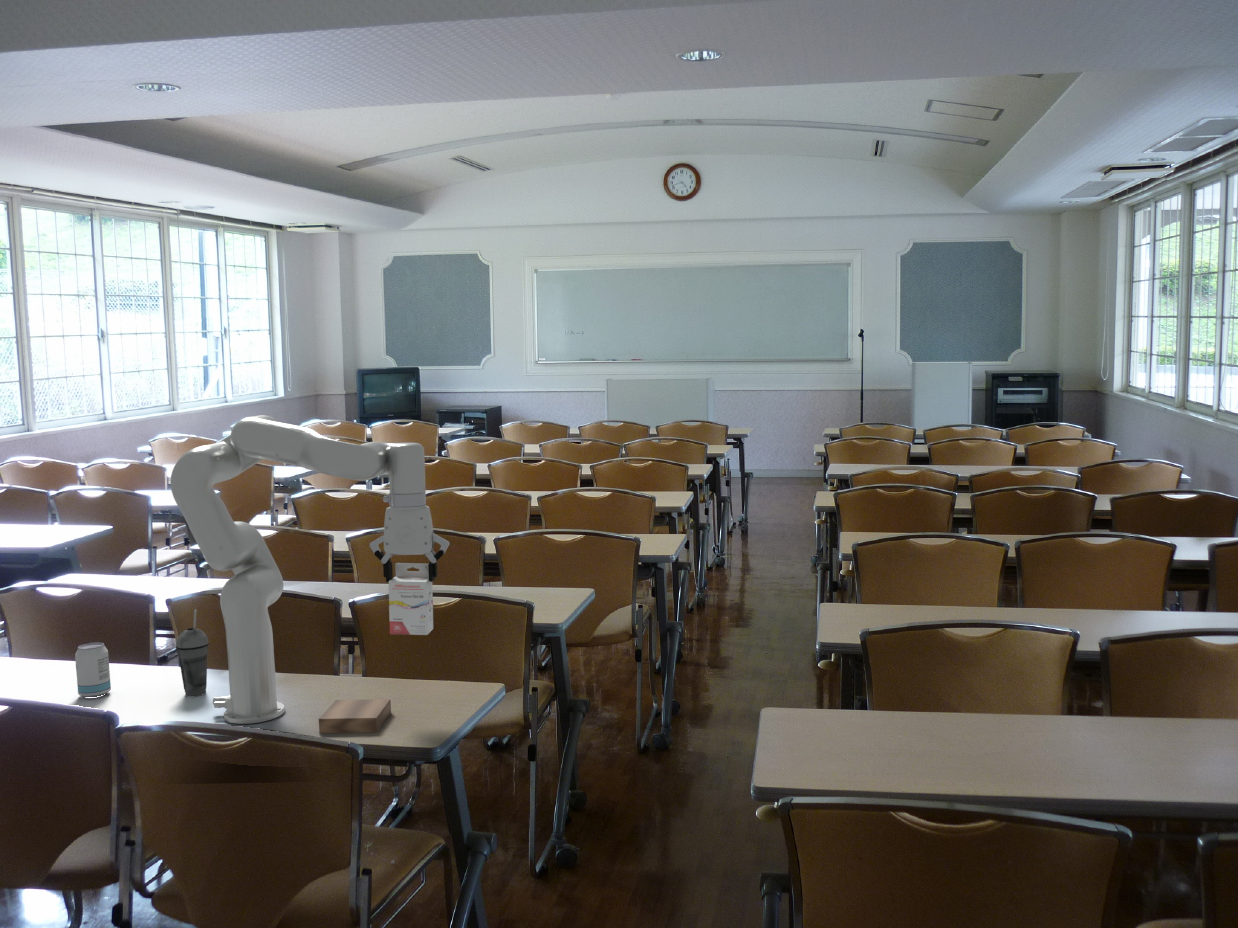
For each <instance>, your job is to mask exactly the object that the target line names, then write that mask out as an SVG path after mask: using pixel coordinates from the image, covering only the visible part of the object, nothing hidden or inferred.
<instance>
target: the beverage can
mask: <svg viewBox="0 0 1238 928" xmlns="http://www.w3.org/2000/svg"><path fill="white" fill-rule="evenodd" d="M74 658H75V659H74V661H75V669H76V671H75V672H76V684H77V686H76V687H77V694H78V696H80V697H82V698H84V697H97V696H101V695H104V694H106V693H107V694H108V693H109V692H110V691H111V690H112V687H111V685H112V684H111V673H110V659H109V650H108V649H107V647H106V646H105V643H104V642H89V643H83V644H81V645H79V646H77V649H76V652H75V655H74ZM107 694H106V695H107Z"/></svg>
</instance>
